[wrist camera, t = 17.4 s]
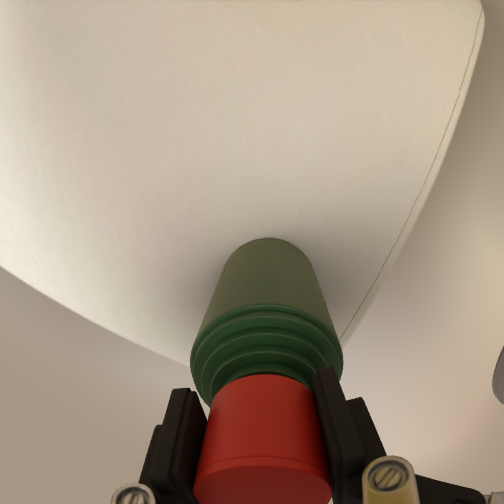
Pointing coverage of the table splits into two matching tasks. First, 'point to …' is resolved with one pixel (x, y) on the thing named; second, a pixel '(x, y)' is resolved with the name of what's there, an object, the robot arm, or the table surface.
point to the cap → (263, 446)
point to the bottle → (264, 321)
